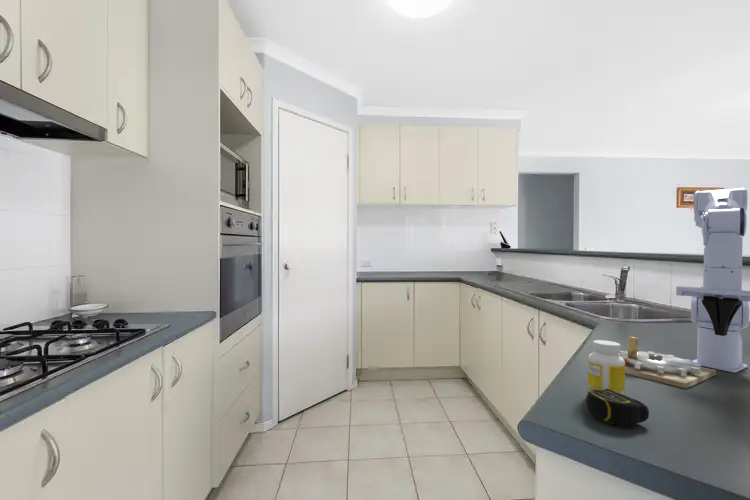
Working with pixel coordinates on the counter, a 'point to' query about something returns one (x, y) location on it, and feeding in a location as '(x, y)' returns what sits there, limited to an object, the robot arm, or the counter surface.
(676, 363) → the sprocket
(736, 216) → the robot arm
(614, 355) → the supplement bottle
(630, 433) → the counter surface
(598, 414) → the tape measure
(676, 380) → the sprocket base
